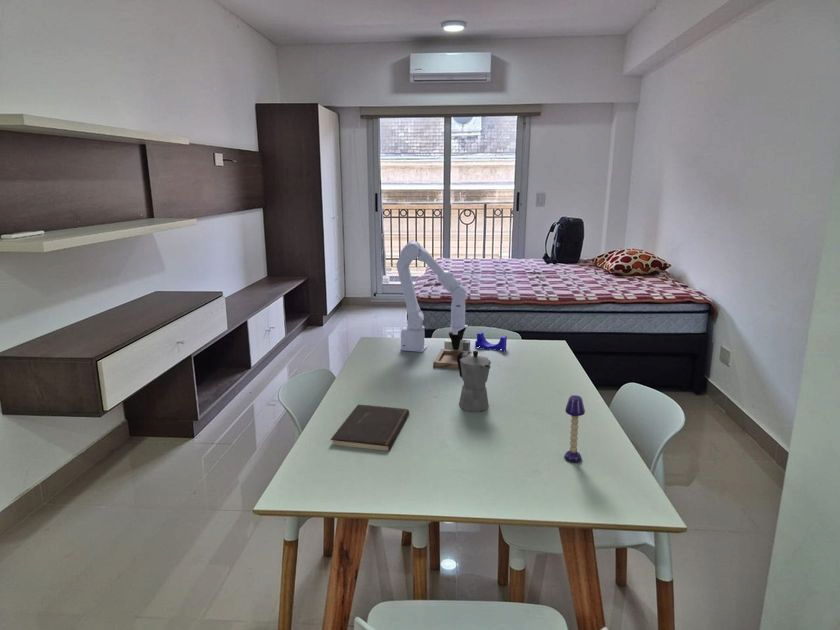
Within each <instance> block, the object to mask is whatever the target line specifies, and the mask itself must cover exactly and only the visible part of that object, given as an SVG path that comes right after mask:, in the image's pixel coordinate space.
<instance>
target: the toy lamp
mask: <svg viewBox="0 0 840 630" xmlns="http://www.w3.org/2000/svg"><path fill="white" fill-rule="evenodd" d="M585 411H586V410H585V406H584V401H583V398H582V396H581V395H576V394H574V395H570V396H569V398H568V401H567V403H566V406H565V411H564V412H565V413H566V415H567V414H568V415H569V416H571V420H570V423H571V424H570V429H571V430H570V435H569V436H570V437H569V438H570V441H569V445H570V447H569V450H567V451H566V452H565V453H564V457H563V458H564V460H565V461H567V462H569V463H574V464H577V463H580V462H582V454H581V453H580V452H579V451H578V433H579V432H578V431H579V430H578V429H579V417H580V416H583V415H585V414H586V412H585Z"/></svg>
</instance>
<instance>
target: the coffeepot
mask: <svg viewBox="0 0 840 630" xmlns="http://www.w3.org/2000/svg"><path fill="white" fill-rule="evenodd" d="M472 354H473V355H469V353H468V354H464V353H462V352H460V353H459V354H458V355H457V363H458V368H459V369H458V372H459V376H460V378H461V380H462V381H463V385H462V387H461V393H460V397H459V401H458V404H459V406H460V408H461V409H462V410H464V411H466V412H471V413H478V412H479V413H480V412H483V411H486V410H487V409H488V408H489V406H490V405H489V399H488V391H487V386H486V383H487V382H488V378H489V374H490V373H489V372H490V369H491V368H492V367H491V365H492V363H491V362H492V361H491V360H490V359H489V357H486V356H485V357H484V356H481V355H479V351H478V350H473V351H472Z"/></svg>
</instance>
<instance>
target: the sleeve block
mask: <svg viewBox="0 0 840 630" xmlns="http://www.w3.org/2000/svg"><path fill="white" fill-rule="evenodd" d="M443 345H444V349H446V350H453V347H452V341H451V338H446V339H444V343H443ZM458 350H459V351H468V352H470V351H469V350H471V340H470V339H462V340H460V345H459V349H458Z"/></svg>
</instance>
